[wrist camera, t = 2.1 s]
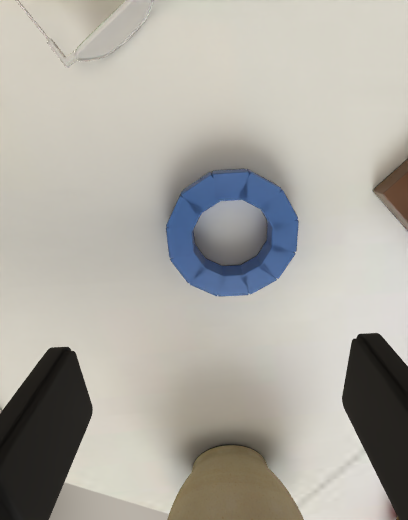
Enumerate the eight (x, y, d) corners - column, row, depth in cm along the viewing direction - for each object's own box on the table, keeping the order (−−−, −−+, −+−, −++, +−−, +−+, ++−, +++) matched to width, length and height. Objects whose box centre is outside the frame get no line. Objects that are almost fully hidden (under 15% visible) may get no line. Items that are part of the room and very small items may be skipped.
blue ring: (143, 236, 25) (138, 245, 23) (228, 137, 21) (229, 137, 20) (232, 306, 27) (233, 318, 25) (318, 227, 24) (328, 234, 22)
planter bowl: (245, 515, 42) (257, 635, 32) (146, 477, 38) (124, 598, 28) (320, 455, 36) (363, 578, 26) (212, 405, 33) (214, 524, 23)
